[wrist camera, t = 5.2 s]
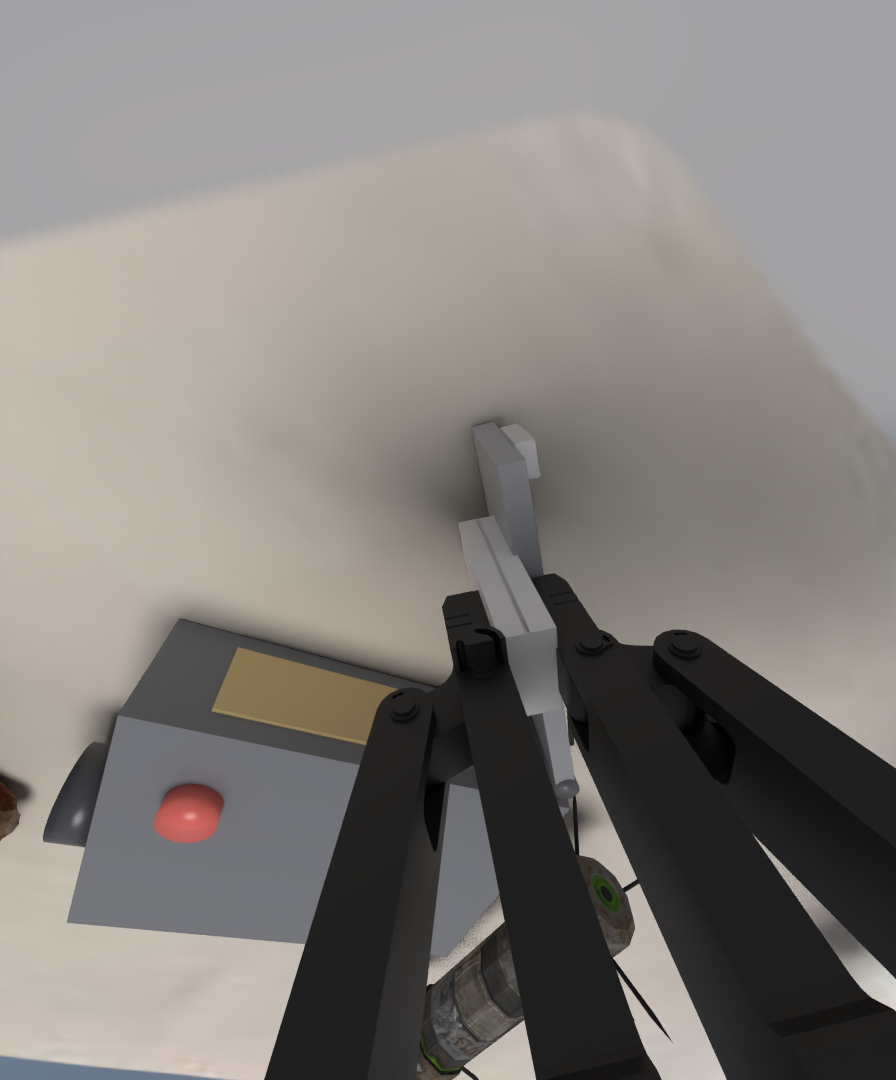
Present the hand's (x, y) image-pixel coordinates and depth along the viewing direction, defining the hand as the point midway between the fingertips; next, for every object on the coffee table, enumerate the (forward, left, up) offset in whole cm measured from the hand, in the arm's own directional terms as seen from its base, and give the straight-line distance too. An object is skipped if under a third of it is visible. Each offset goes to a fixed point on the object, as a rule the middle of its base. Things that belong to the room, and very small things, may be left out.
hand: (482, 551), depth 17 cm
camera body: (+1, +14, -2) cm, 14 cm away
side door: (-3, +2, -1) cm, 4 cm away
